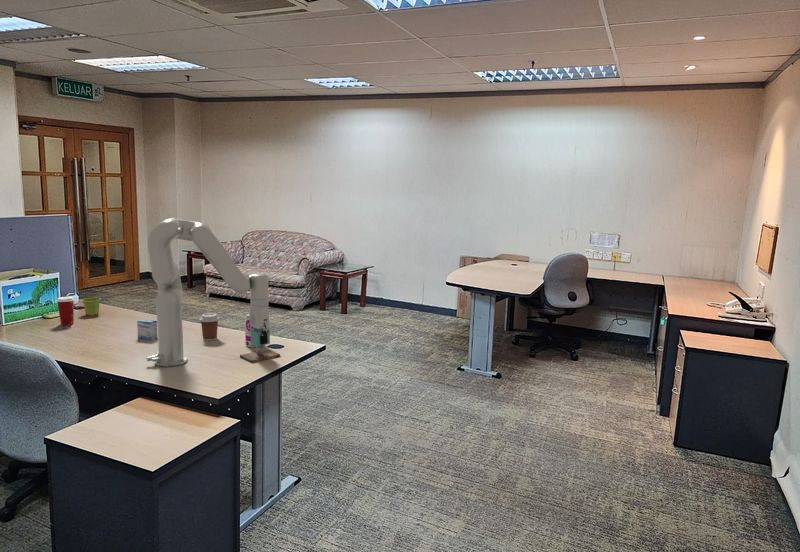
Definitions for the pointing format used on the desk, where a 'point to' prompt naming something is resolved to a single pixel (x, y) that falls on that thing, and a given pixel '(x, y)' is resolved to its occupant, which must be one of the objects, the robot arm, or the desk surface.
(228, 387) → the desk surface
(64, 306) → the paper cup
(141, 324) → the medicine box
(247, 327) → the supplement can
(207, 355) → the desk surface
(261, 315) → the robot arm
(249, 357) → the post board
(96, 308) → the plant pot
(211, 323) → the coffee cup
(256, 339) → the teal cube
